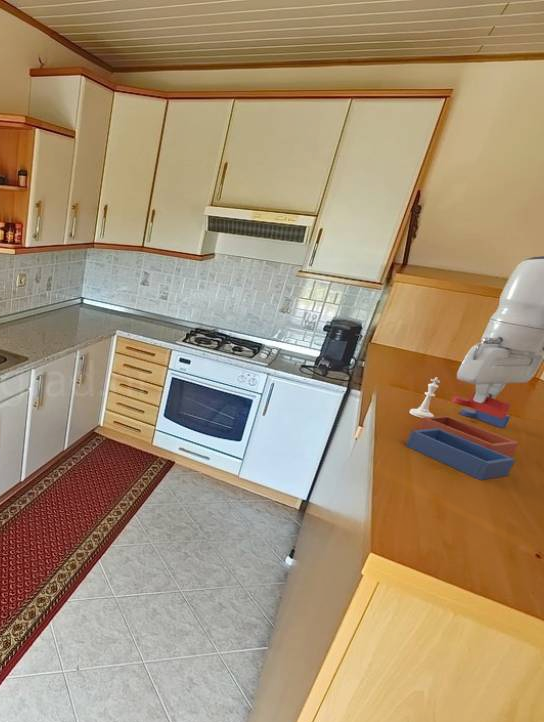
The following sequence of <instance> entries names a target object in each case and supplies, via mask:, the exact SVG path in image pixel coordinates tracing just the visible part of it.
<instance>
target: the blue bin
mask: <svg viewBox="0 0 544 722" xmlns="http://www.w3.org/2000/svg"><path fill="white" fill-rule="evenodd" d="M405 447H408V448H409V449H412V450H414V451H416V452H418V453H420V454H422V455H425V456H427V457H429V458H431V459H434V460H436V461H438V462H440V463H442V464H445V465H447V466H449V467H451V468H453V469H456V470H457V471H460V472H461V473H464V474H466V475H468V476H470V477H473V478H474V479H477V480H479V481H485V480H491V479H497V478H503V477H508V476H509V474H510V472H511V470H512V467H513V466H514V464H515V462H516V459H515V458H513V457H511V458H510V457H508V456H505V455H503V454H500V453H498V452H495V451H493V450H491V449H488V448H486V447H483V446H481V445H478V444H476V443H473V442H471V441H468V440H466V439H463V438H461V437H458V436H456V435H453V434H451V433H448V432H446V431H443V430H441V429H438V428H435V429H425V430H418V429H415V430H411V432H410V434H409V436H408V439H407V442H406V443H405Z"/></svg>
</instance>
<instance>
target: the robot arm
mask: <svg viewBox="0 0 544 722" xmlns="http://www.w3.org/2000/svg"><path fill="white" fill-rule="evenodd" d="M498 303H499V304H498V306H497V309H496V310H495V312H494V313H493V314H492V315H491V316H490V319H489V321H488V323H487V325H486V327H485V330H484V331H483V334H482V336H481V338H480V342H478V343H477V344H473V346H471V348H470V349H469V350H468V352H467V353H466V355H465V356H464V359H463V360H462V362H461V364H460V365H459V368H458V370H457V372H456V379H457V380H458V381H462V382H464V383H468V384H471V385H475V392H476V394H475V396H474V398H473V400H474V401H476V402H479V403H486V402H487V401H488V398H489V397H491V398H494V399H497V398H496V397H498V395H499V393H501V392H502V391H503V390H504V389H505V386H506V385H507V384H522V383H523V384H524V383H525V384H526V383H528V382H530V380H531V379H533V378H534V376H535V374H536V373H537V371H538V370H539V368H540V366H541V365H542V363H543V360H544V256H543V255H542V256H532V257H529V258H526V259H524V260H523V261H521V262H520V263H518V264H517V266H516V267H515V268H514V270H513V271H512V272H511V274H510V275H509V278H508V279H507V282H506V284H505V285H504V287H503V289H502V292H501V294H500V296H499V302H498Z"/></svg>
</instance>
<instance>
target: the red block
mask: <svg viewBox="0 0 544 722" xmlns="http://www.w3.org/2000/svg"><path fill="white" fill-rule="evenodd" d="M475 394H476V391H475V392H474V391H473V392H472V394H471V395H470V398H469V397H465V396H462V395H461V396H460V395H453V396H452V398H451V403H452V404H455V405H458V406H463V407H468V408H471V409H472V410H473V409H474V410H475V411H476V410H479V411H482V412H484V413H487V414H490V415H493V416H495V417H498V418H501V419H504V418H505V416H506V415H508V412H509V410H510V408H511V406H512V403H510V402H506V401H503V400H500V399H498V398H495V399H494V398H491V397H489V398H488V401H487V402H486V403H479V402H476V401H474V400H473V398H474V396H475Z"/></svg>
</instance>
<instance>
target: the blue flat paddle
mask: <svg viewBox="0 0 544 722" xmlns="http://www.w3.org/2000/svg"><path fill="white" fill-rule="evenodd" d="M459 414H460V415H462V416H465V417H467V418H472V419H475V420H479V421H482V422H484V423H487V424H490V425H492V426H495V427H497V428H501V429H506V427H507V425H508V423H509V421H510V418H511V415H509V414H506V416H505V418H504V419H501V418H498V417H495V416H493V415H490V414H487V413H484V412H482V411H479V410H476V409H475V410H473V409H469V408H464V407H463V408H461V409H460V412H459Z"/></svg>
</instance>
